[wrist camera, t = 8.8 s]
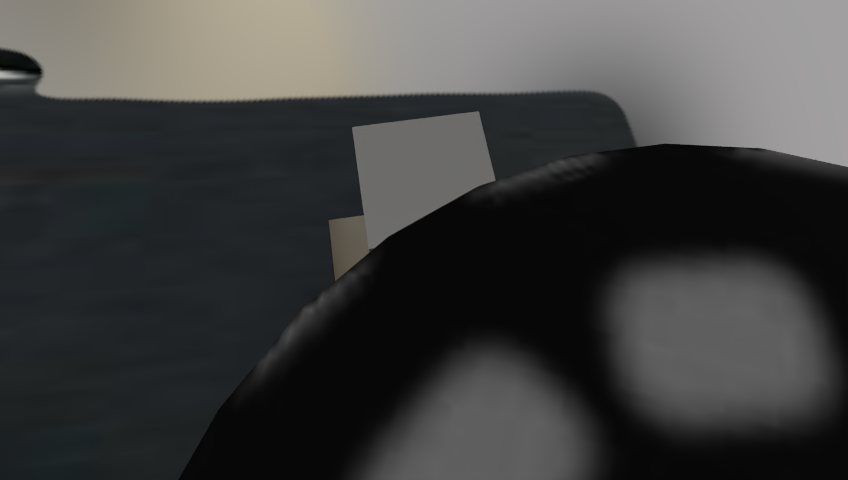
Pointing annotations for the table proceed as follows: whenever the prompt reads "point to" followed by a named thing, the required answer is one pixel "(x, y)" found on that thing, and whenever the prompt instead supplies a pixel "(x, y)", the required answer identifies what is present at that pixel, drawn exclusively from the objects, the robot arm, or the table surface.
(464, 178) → the block
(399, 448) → the white-spotted black cylinder
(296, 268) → the table surface
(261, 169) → the table surface
